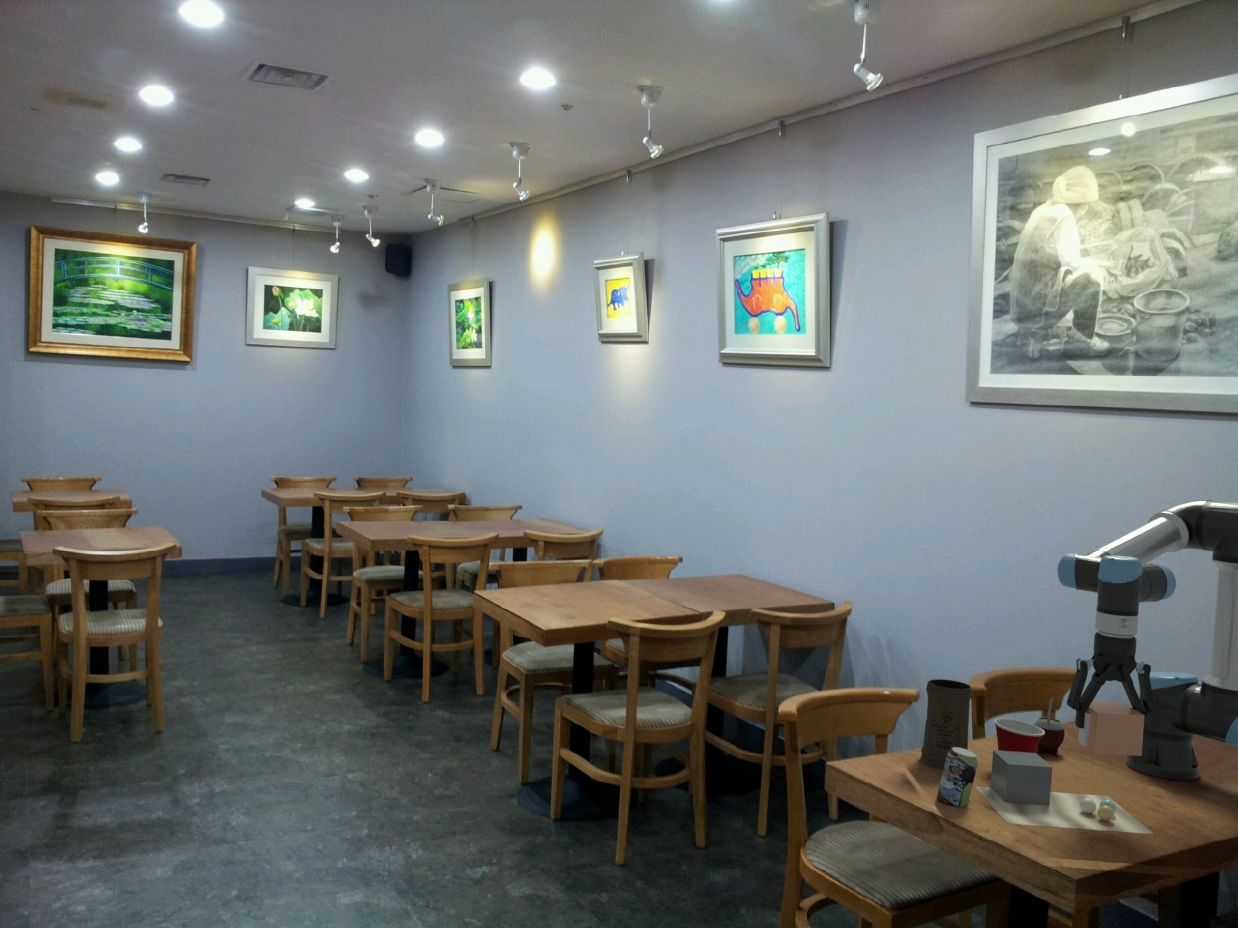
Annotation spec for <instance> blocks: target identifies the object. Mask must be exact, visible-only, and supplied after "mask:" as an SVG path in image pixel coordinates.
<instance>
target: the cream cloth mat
mask: <svg viewBox="0 0 1238 928" xmlns="http://www.w3.org/2000/svg"><path fill="white" fill-rule="evenodd" d="M974 788H975V789H976V790H977V791H978V792H979V794H980V795H981V796H982V797H983V798H984V799H985V800H986V802H988V804H990V805H991V807H992V808H993V809H994V810H995V812H996V813H998V815H999V816H1001V818H1002V820H1003V821H1004V822H1006V824H1008V825H1020V826H1021V825H1024V826H1032V827H1033V826H1035V827H1047V828H1050V827H1052V828H1062V829H1065V828H1066V829H1078V830H1088V831H1089V830H1090V831H1091V830H1093V831H1103V832H1104V831H1107V832H1118V833H1133V834H1146V835H1155V833H1154V832H1153V831H1151V830H1150V828H1148V827H1146V826H1145V825H1144V824H1142V823H1141V822H1140V821H1139V820H1138V819H1136V818H1135V817H1134V816H1133V815H1132V814H1130V813H1129V812H1128V811H1126V810H1125V809H1124V808H1123V807H1122V806H1120V805H1119V804H1118V803H1117V802H1116V801H1114V800H1113V799H1112V798H1110V797H1109V796H1108V795H1100V794H1099V795H1097V794H1096V795H1095V794H1085V793H1081V794H1080V793H1068V792H1059V791H1058V792H1057V791H1056V792H1055V791H1051V793H1050V806H1046V805H1032V804H1018V803H1005V802H1004V801H1003V800H1002V799H1001V798H1000V797H999V795H998V794H997V793H996V792H995V791H994V790H993V789H992V788H991V787H986V786H985V787H984V786H974ZM1084 798H1090V799H1092V800H1093V801H1094V802H1095V804H1096V810H1095V811H1094V812H1093V813H1091V814H1087V813H1085V812H1083V811H1082V810H1081V808H1080V802H1081V800H1082V799H1084ZM1106 799H1108V800H1111V801H1113V802H1114V803H1115V805H1116V811H1115V813H1114V818H1113V819H1112V820H1111V821H1103V820H1102V819H1100V818H1099V816H1098V809H1099V807H1100V803H1101V802H1102V801H1103V800H1106Z"/></svg>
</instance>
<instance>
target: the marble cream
mask: <svg viewBox="0 0 1238 928" xmlns="http://www.w3.org/2000/svg"><path fill="white" fill-rule="evenodd" d="M1080 808H1081V810H1082V811H1083V812H1085V813H1087V814H1091V813H1093V812H1094V811H1095V810H1096V804H1095V802H1094V801H1093V800H1092V799H1090V798H1084V799H1082V800H1081V802H1080Z"/></svg>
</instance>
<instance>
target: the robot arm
mask: <svg viewBox="0 0 1238 928" xmlns="http://www.w3.org/2000/svg"><path fill="white" fill-rule="evenodd" d="M1185 549H1189V550H1199V551H1206V552H1207V551H1208V552H1212V559H1211V561H1212V562H1213V563H1214V565H1215V566H1217V567H1218V570H1219V571H1218V580H1217V589H1216V590H1217V591H1216V592H1217V593H1216V603H1215V612H1214V613H1215V614H1214V615H1215V617H1214V626H1213V627H1214V628H1213V638H1212V647H1211V648H1212V651H1211V661H1210V672H1209V674H1206V676H1204V677H1202V678H1201V683H1199V681H1200V680H1199V677H1198V676H1197V675H1196V674H1192V673H1186V672H1180V671H1179V672H1176V671H1152V665H1150V664H1148V663H1146V662H1144V661H1141V662H1137V661H1136V653H1137V638H1136V637H1135V636H1136V635H1137V634H1138V622H1139V608H1140V603H1149V602H1150V603H1151V602H1153V603H1156V602H1159V601H1162V600H1163V601H1164V600H1167V599H1168V598H1170V597H1171V596H1172V595H1173V594H1174V593H1175V590H1176V588H1177V579H1176V576H1175V573H1174V572H1173V571H1172V570H1171V569H1170V568H1169V567H1168V566H1165V565H1163V564H1159V563H1158V564H1157V563H1149V562H1151V561H1153V560H1155V559H1157V558H1159V557H1160V556H1162V555H1165V554H1166V553H1176V552H1180V551H1181V550H1185ZM1147 563H1148V564H1147ZM1057 578H1058V581H1059V583H1061V585H1062V586H1064V587H1066V588H1071V589H1075V590H1077V591H1085V592H1089V593H1096V594H1097V599H1096V601H1097V602H1096V612H1095V624H1094V630H1095V631H1097V632H1095V633H1094V637H1093V638H1094V639H1093V655H1092V657H1091V658H1090V659H1082V658H1077V659H1076V671H1075V674H1074V677H1073V681H1072V685H1071V687H1070V691H1069V694H1068V696H1067V700H1066V705H1067V706H1068V707H1070V709H1073V710H1075V723H1074V724H1075V727H1076V726H1077V727H1078V728H1079V741H1078V740H1077V741H1078V743H1079V744H1080V745H1082V746H1084V747H1086V746H1088V738H1089V723H1090V714H1089V713H1088V712H1086V711H1087V709H1088V708H1089V706H1090V704H1091V703H1092V701H1095V697H1096V696H1097V694H1098V693H1099V691H1100V690H1101V688H1102V686H1104V685H1105V684H1106V682H1113V681H1115V682H1119V683H1120V684H1121V685H1122V686H1123V689H1124V692H1125V695H1126V696H1127V698H1128V701H1129V703H1130V705H1131V706H1130V707H1131V708H1133V709H1135V710H1136V711H1138V712H1140V713H1141V714H1143V715H1144V729H1143V743H1142V756H1136V755H1126V761H1125V762H1126V765H1127V766H1128V767H1130V768H1131V769H1133V770H1135V771H1137V772H1140V773H1143V774H1145V775H1149V776H1153V777H1157V778H1161V779H1167V780H1175V781H1193V780H1194V781H1195V780H1196V779H1198V778H1199V777H1200V776H1199V774H1200V765H1199V762H1198V758H1197V753H1196V750H1195V747H1194V742H1193V741H1194V736H1198V737H1202V738H1205V739H1209V740H1211V741H1216V742H1219V743H1223V744H1226V745H1227V746H1234V747H1238V502H1233V501H1232V502H1230V501H1222V500H1221V501H1219V500H1210V499H1199V500H1193V501H1187V502H1182V503H1180V504H1177V505H1173V506H1170V507H1168V508H1166V509H1163V510H1161V511H1159V512H1156V513H1155V514H1153V515H1152V516H1151V517H1149V519H1148V520H1147V523H1145V524H1143V525H1141V526H1139V527H1137V528H1135V529H1134V530H1131V531H1129V532H1127V533H1126V534H1124V535H1122V536H1119V537H1118V538H1116V539H1113V540H1112V541H1110V542H1108V543H1106V544H1104V545H1102V546H1101V547H1098V548H1097V549H1095V550H1092V551H1091V552H1088V553H1086V554H1080V553H1066V554H1064V555H1063V556H1062V557H1061V558H1060V560H1059V562H1058V565H1057ZM1091 667H1093V669H1094V670H1095V671H1094V672H1093V674H1092V675H1091V679H1090V681H1089V683H1088V684H1087V686H1086V688H1085V685H1086V682H1087V678H1088V675H1089V674H1088V672H1089V671H1091ZM1134 670H1135V671H1136V673H1137V679H1138V684H1139V685H1138V686H1139V694H1138V692H1137V690H1136V688H1135V685H1134V684H1135V683H1134V681H1133V678H1132V676H1131V674H1132V673H1133V671H1134ZM1151 671H1152V672H1151ZM1084 688H1085V689H1084Z"/></svg>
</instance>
